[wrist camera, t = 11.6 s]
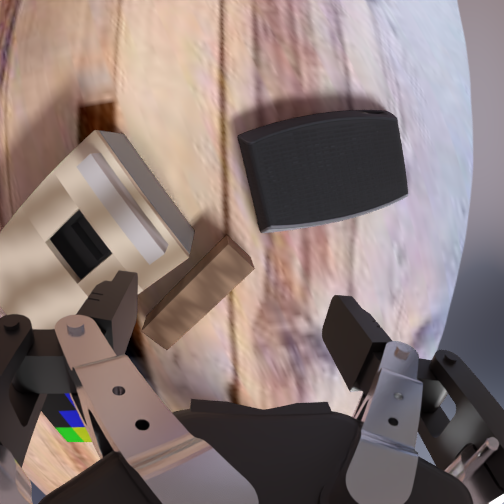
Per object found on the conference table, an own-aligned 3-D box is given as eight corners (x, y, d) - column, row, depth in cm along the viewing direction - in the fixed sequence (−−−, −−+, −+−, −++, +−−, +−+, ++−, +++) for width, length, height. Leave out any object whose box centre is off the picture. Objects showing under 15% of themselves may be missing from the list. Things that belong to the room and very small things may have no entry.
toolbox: (194, 230, 36) (189, 253, 28) (74, 322, 37) (52, 355, 30) (124, 134, 31) (99, 130, 23) (13, 245, 33) (-20, 266, 25)
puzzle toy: (104, 343, 39) (83, 389, 30) (133, 392, 42) (122, 440, 33) (53, 352, 39) (28, 394, 29) (83, 398, 42) (67, 441, 33)
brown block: (254, 268, 34) (167, 350, 36) (250, 256, 38) (170, 332, 40) (228, 244, 33) (141, 331, 35) (226, 234, 36) (147, 314, 39)
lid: (189, 254, 28) (186, 268, 24) (51, 357, 30) (41, 374, 26) (98, 130, 23) (84, 128, 20) (-22, 266, 25) (-38, 277, 22)
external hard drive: (399, 203, 38) (416, 209, 34) (260, 237, 37) (266, 248, 33) (385, 106, 34) (402, 103, 30) (235, 129, 33) (238, 126, 29)
